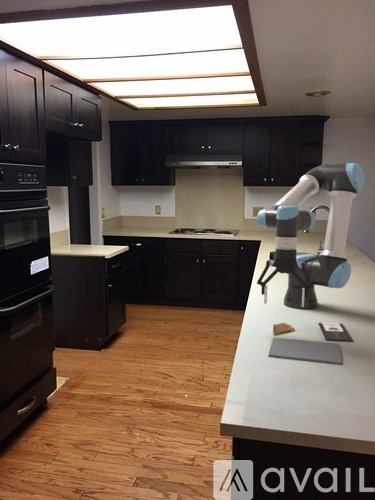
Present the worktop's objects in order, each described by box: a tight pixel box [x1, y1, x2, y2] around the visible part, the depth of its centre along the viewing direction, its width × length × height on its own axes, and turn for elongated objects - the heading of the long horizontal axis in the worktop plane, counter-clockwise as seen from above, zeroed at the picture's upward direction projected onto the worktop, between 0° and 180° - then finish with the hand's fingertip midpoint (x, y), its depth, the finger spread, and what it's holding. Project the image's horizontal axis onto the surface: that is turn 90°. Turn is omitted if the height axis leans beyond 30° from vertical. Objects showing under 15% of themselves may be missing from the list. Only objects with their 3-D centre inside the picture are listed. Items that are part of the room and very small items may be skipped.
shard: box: [272, 322, 296, 336], centre depth 155 cm, size 11×8×2 cm
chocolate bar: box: [318, 322, 354, 343], centre depth 152 cm, size 9×1×18 cm
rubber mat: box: [268, 337, 343, 365], centre depth 135 cm, size 16×22×1 cm
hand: (283, 304), depth 153 cm, fingers open, 13 cm apart
